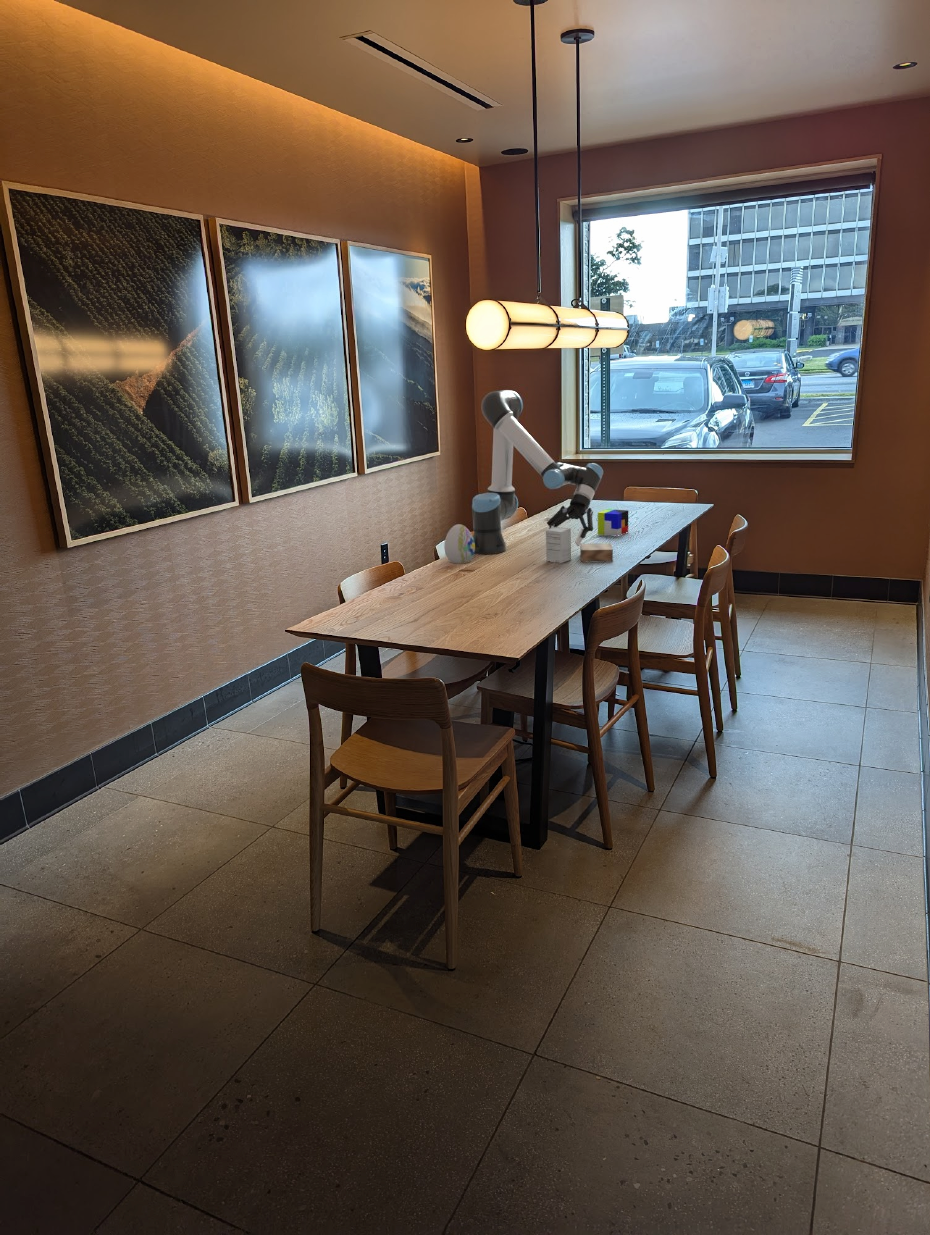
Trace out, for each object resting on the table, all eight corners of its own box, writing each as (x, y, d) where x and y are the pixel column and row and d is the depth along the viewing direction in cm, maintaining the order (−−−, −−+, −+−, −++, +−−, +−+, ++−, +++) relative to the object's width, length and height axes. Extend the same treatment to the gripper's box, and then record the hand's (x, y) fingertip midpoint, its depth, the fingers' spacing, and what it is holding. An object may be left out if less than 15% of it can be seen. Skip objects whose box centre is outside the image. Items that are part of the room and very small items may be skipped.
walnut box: (581, 562, 327) (581, 550, 325) (580, 555, 338) (580, 543, 337) (612, 562, 326) (612, 549, 324) (610, 555, 337) (610, 542, 335)
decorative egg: (469, 565, 329) (468, 527, 325) (440, 564, 333) (438, 527, 329) (479, 558, 340) (478, 521, 336) (451, 557, 344) (449, 521, 340)
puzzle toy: (617, 536, 369) (618, 514, 367) (597, 534, 375) (597, 512, 372) (628, 532, 377) (628, 510, 374) (608, 530, 383) (608, 509, 380)
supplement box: (555, 557, 336) (555, 526, 332) (571, 559, 331) (571, 528, 327) (545, 561, 330) (545, 529, 326) (561, 563, 326) (561, 531, 322)
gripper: (612, 506, 330) (593, 551, 324) (559, 502, 345) (539, 545, 339) (605, 494, 325) (585, 540, 318) (552, 491, 340) (531, 534, 333)
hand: (562, 542), depth 328 cm, fingers open, 13 cm apart
